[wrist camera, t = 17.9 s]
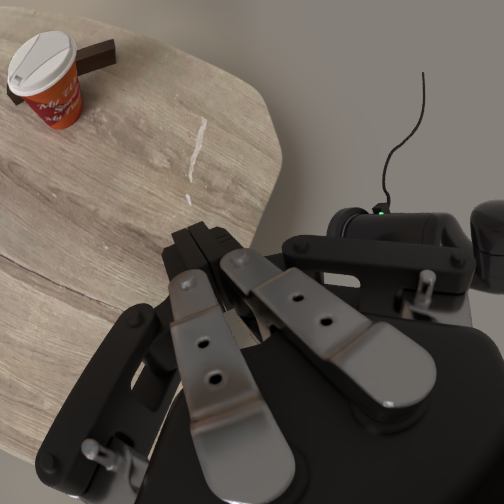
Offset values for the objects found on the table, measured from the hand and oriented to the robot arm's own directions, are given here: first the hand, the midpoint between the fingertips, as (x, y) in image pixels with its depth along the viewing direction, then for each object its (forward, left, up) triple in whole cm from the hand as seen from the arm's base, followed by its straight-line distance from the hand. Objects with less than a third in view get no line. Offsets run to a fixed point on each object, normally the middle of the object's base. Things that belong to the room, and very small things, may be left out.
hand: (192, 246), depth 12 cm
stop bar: (+2, -28, -23) cm, 36 cm away
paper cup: (+4, -22, -23) cm, 32 cm away
